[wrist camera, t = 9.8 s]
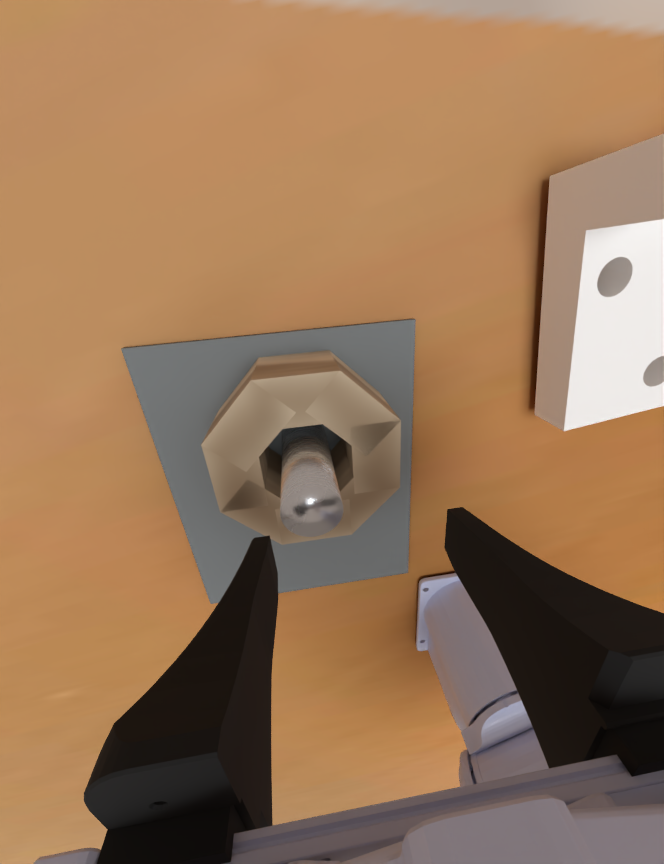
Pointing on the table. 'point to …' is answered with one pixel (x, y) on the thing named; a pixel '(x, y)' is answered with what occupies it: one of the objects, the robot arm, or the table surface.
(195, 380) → the mat
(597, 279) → the bracket
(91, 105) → the table surface
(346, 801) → the table surface
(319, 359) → the ring
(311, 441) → the peg
